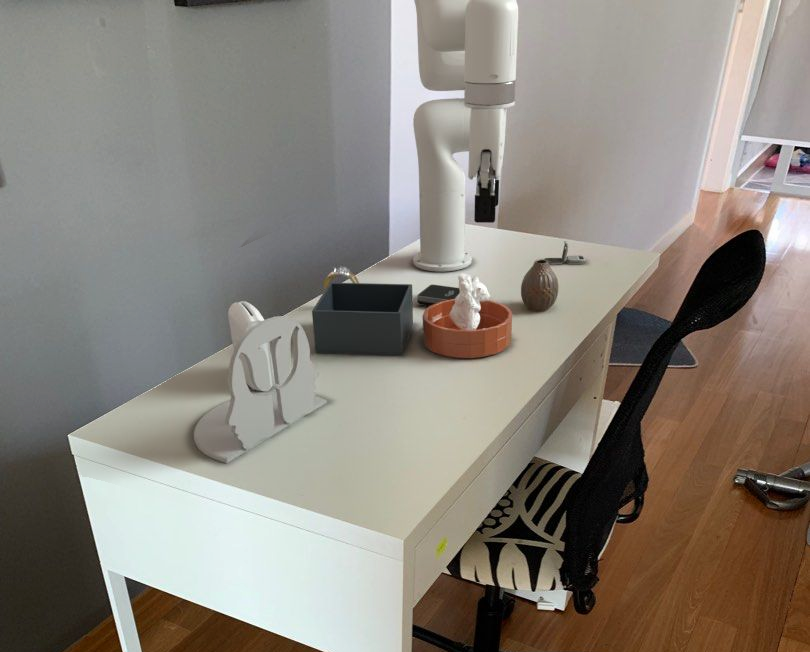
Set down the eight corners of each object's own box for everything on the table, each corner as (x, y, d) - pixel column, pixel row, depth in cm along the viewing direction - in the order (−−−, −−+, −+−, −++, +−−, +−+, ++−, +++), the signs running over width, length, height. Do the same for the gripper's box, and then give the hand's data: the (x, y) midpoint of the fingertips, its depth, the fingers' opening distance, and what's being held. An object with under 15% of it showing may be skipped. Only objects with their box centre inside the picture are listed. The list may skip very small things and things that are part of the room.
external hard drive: (469, 313, 160) (469, 303, 158) (415, 305, 164) (415, 295, 163) (482, 301, 165) (483, 291, 164) (430, 294, 169) (430, 284, 168)
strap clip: (584, 259, 183) (585, 239, 181) (585, 264, 181) (587, 244, 178) (544, 260, 184) (545, 240, 181) (545, 264, 181) (546, 244, 179)
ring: (363, 307, 164) (360, 266, 159) (356, 313, 161) (353, 271, 157) (330, 303, 166) (327, 262, 161) (323, 309, 164) (319, 267, 159)
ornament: (227, 464, 117) (207, 349, 107) (162, 438, 124) (137, 328, 114) (329, 402, 132) (319, 296, 122) (265, 382, 138) (252, 280, 128)
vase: (556, 301, 164) (559, 255, 158) (557, 314, 158) (561, 267, 153) (519, 301, 164) (522, 255, 159) (520, 314, 159) (522, 267, 154)
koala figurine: (476, 351, 145) (478, 282, 138) (440, 346, 147) (439, 277, 140) (493, 333, 151) (495, 266, 144) (457, 328, 153) (458, 261, 146)
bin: (333, 322, 158) (329, 282, 154) (413, 324, 156) (412, 284, 152) (315, 353, 147) (311, 310, 143) (401, 356, 145) (400, 313, 141)
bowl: (429, 323, 156) (428, 297, 153) (512, 326, 154) (513, 299, 151) (418, 358, 144) (417, 329, 141) (508, 361, 142) (509, 332, 139)
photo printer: (233, 370, 142) (222, 297, 135) (258, 364, 144) (248, 292, 136) (252, 394, 135) (241, 318, 127) (278, 388, 136) (269, 313, 129)
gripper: (469, 86, 134) (467, 199, 144) (459, 104, 120) (458, 228, 130) (517, 85, 133) (512, 200, 143) (512, 103, 120) (507, 229, 129)
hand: (486, 213), depth 137 cm, fingers open, 9 cm apart
